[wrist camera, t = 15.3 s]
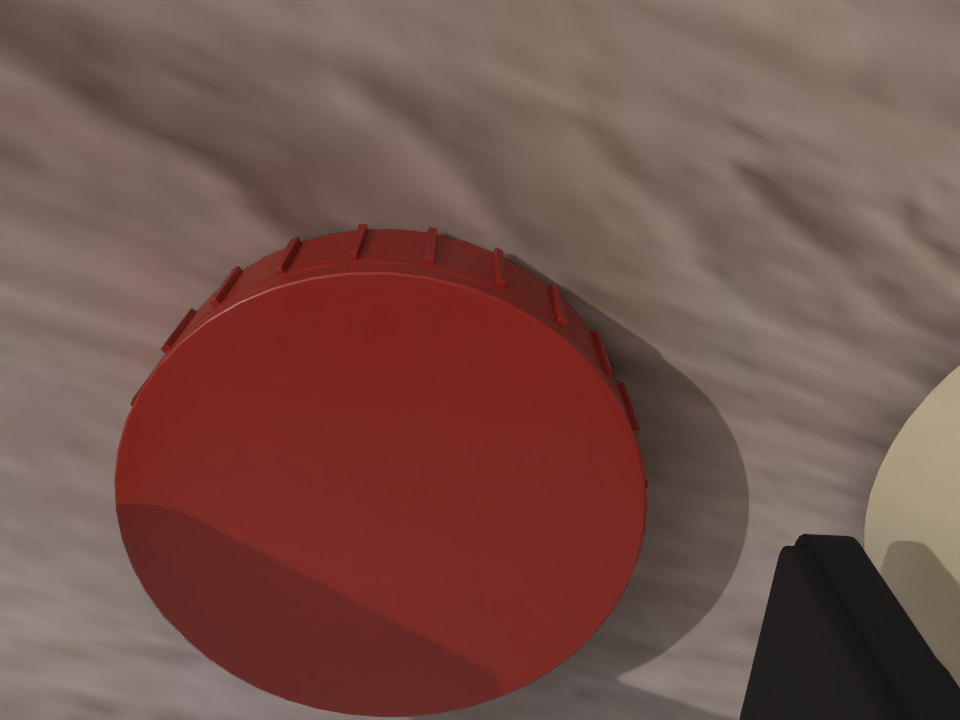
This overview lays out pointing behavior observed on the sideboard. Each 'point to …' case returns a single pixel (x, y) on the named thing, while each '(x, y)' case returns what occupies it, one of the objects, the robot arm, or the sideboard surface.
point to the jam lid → (383, 476)
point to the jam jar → (923, 520)
